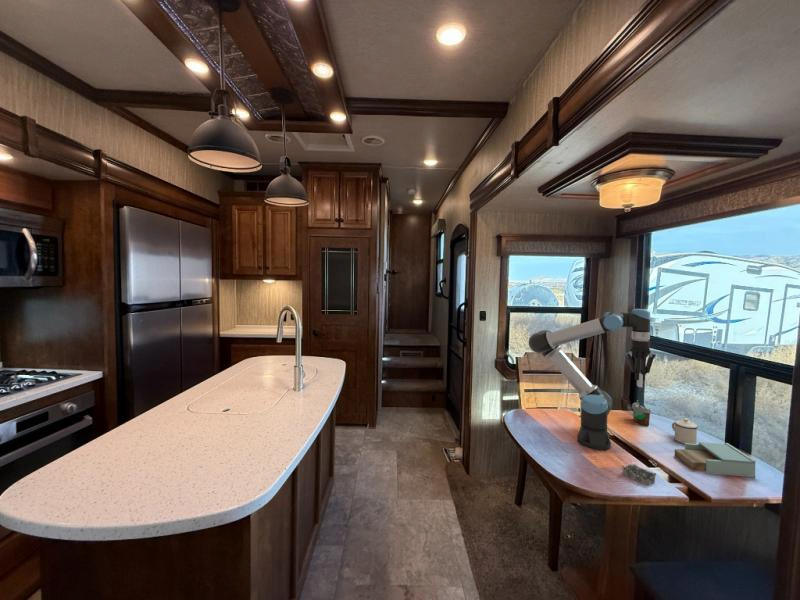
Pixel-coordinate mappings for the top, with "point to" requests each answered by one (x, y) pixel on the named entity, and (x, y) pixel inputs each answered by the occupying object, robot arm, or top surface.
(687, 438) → the teacup with lid
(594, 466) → the top surface
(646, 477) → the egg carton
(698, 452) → the panel
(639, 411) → the food container
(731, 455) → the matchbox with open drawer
